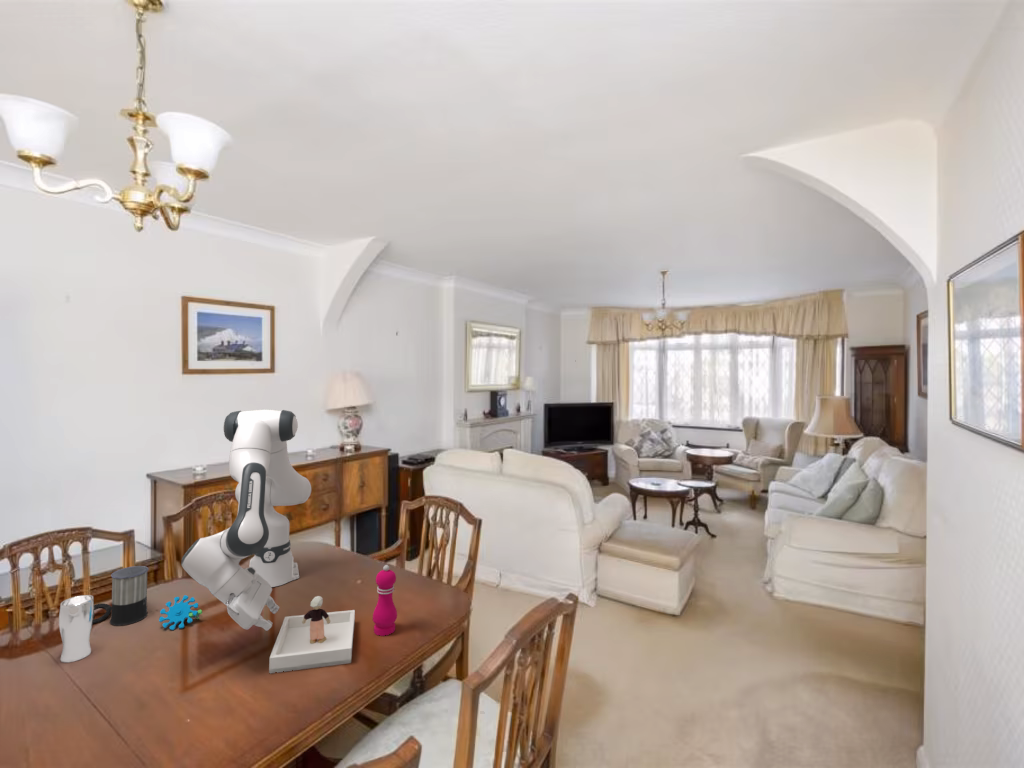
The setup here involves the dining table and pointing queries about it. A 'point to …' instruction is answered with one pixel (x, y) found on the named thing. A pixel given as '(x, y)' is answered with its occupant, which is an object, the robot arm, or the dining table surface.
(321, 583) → the dining table surface
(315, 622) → the grandmother figurine
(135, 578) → the milk frother
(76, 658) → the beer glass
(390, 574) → the pepper mill
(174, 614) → the gear
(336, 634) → the tray
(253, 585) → the robot arm
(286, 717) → the dining table surface
